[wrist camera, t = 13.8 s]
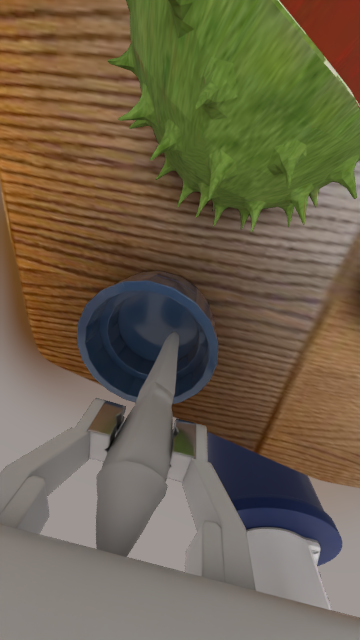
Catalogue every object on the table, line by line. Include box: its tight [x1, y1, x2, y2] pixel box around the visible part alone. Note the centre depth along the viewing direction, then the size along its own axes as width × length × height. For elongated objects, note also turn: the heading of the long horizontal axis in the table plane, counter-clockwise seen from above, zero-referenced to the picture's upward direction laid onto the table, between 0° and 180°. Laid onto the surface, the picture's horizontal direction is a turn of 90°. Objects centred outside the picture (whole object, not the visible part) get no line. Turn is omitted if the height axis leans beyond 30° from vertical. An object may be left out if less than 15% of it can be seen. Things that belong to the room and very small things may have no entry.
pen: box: [96, 331, 179, 557], centre depth 11 cm, size 2×3×14 cm
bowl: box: [77, 271, 218, 404], centre depth 19 cm, size 13×13×6 cm
